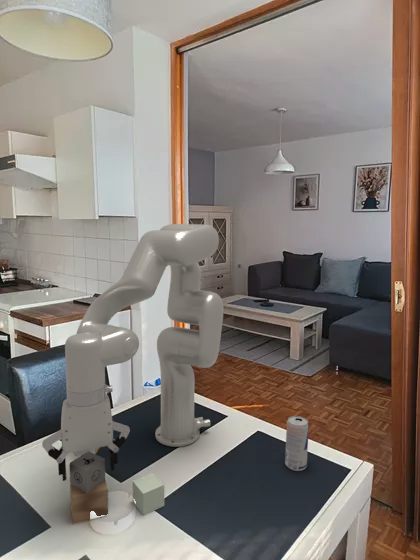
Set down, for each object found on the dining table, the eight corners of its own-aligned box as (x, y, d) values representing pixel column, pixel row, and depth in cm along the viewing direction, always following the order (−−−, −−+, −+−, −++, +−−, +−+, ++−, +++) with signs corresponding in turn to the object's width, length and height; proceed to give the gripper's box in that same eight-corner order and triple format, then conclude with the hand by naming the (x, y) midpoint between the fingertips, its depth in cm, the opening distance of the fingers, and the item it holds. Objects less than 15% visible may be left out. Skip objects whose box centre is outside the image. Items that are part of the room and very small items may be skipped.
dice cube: (86, 493, 81) (86, 470, 80) (70, 484, 83) (69, 462, 83) (105, 480, 85) (104, 458, 84) (89, 472, 88) (88, 451, 87)
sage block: (153, 493, 90) (153, 472, 89) (164, 506, 86) (164, 484, 85) (132, 502, 87) (132, 481, 86) (143, 515, 83) (143, 493, 82)
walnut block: (103, 494, 89) (103, 470, 89) (108, 515, 83) (107, 489, 82) (70, 502, 87) (69, 477, 86) (72, 525, 80) (71, 497, 80)
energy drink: (308, 462, 102) (310, 418, 101) (304, 474, 98) (306, 427, 96) (287, 457, 105) (289, 413, 103) (282, 468, 100) (284, 423, 98)
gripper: (125, 382, 88) (127, 454, 90) (40, 392, 82) (44, 470, 84) (132, 395, 81) (133, 473, 83) (39, 408, 75) (43, 492, 77)
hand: (88, 471), depth 84 cm, fingers open, 9 cm apart
